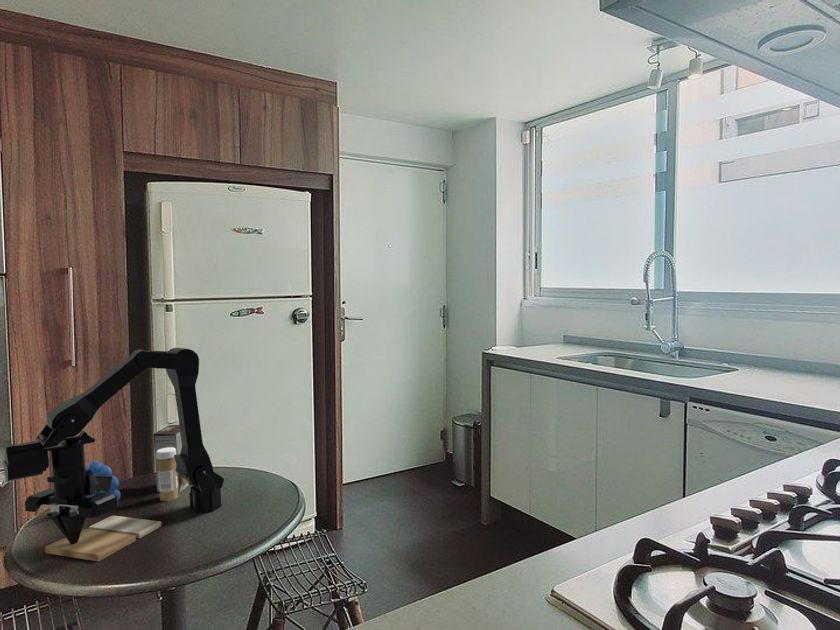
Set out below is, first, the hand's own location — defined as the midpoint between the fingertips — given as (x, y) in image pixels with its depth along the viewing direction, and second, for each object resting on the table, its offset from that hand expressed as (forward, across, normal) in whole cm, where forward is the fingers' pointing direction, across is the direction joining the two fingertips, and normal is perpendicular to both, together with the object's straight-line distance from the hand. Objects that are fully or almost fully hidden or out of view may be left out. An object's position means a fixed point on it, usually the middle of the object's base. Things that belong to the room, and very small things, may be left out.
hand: (74, 543), depth 111 cm
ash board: (+2, -2, -10) cm, 11 cm away
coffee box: (+2, +7, -36) cm, 37 cm away
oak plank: (+2, -2, -2) cm, 4 cm away
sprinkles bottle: (+2, +1, -27) cm, 27 cm away
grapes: (+2, +14, -18) cm, 23 cm away
